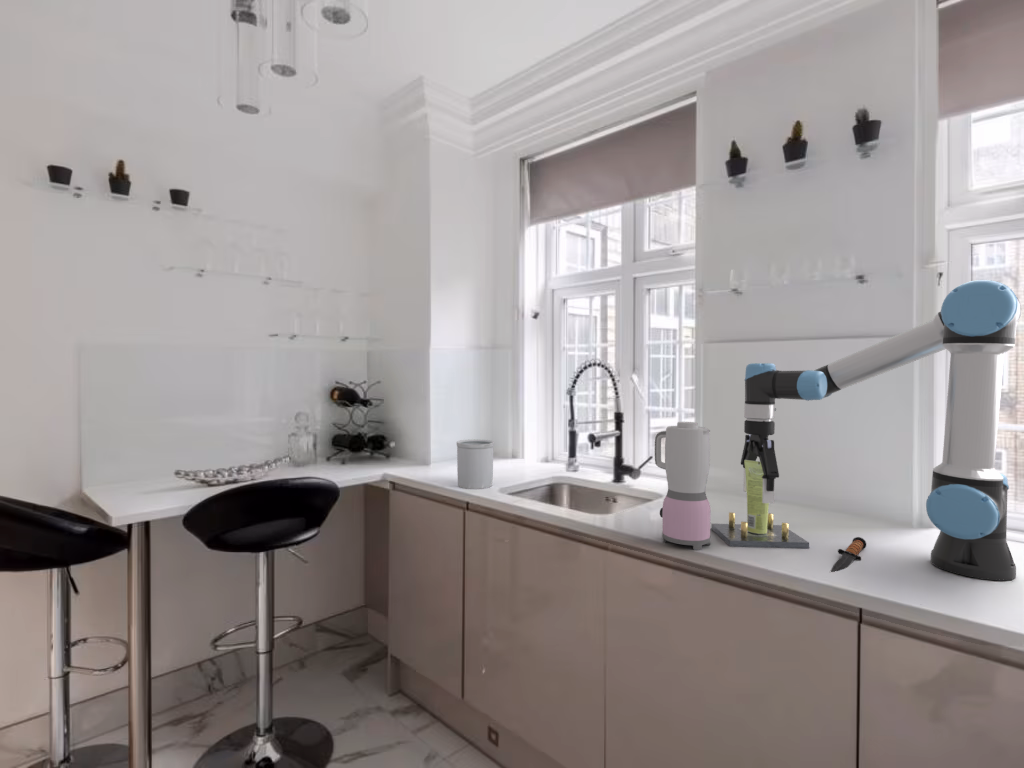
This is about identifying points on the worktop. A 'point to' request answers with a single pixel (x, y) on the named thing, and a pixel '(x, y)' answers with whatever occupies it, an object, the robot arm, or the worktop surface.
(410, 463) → the worktop surface
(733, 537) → the plate
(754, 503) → the tube
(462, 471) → the utensil holder
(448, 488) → the worktop surface
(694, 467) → the blender
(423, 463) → the worktop surface
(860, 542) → the knife
